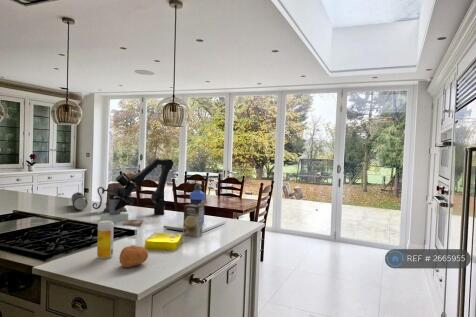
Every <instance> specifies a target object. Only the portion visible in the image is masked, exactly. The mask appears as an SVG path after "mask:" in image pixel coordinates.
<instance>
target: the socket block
mask: <svg viewBox="0 0 476 317" xmlns="http://www.w3.org/2000/svg"><path fill="white" fill-rule="evenodd" d="M99 220H100V221H103V220H111V221H113V223H116V222H122V221H126V220H129V213H127V212H120V214H118V215H109V213H102V214H100V219H99Z"/></svg>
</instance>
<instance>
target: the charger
mask: <svg viewBox="0 0 476 317" xmlns="http://www.w3.org/2000/svg"><path fill="white" fill-rule="evenodd" d="M118 203H119V200H109V215H118V214H120V209H118V210H117V211H115V208H116V206H117V205H118Z"/></svg>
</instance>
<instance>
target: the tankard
mask: <svg viewBox="0 0 476 317" xmlns="http://www.w3.org/2000/svg"><path fill="white" fill-rule="evenodd" d="M107 184H108V185H107V187H106V189H105V188H104V187H103V186H99V187H98V188H97V189H96V190H97V194H98V195H99V199H100V200H99V204H98V203H96V202H93V203H92V208H93V209H94V210H98V209H100V208H101V206H102V203H103V199H102V198H103V197H102V195H103V194H105V192H106V200H105V208H104V209H103V211H102V214H106V213H109V200H111V199H110V198H109V197H108V196H109V194H115V195H116V193H114V192H112V191H113V188H114V187H116V188H121V187H123V188H124V187H125V186H122V185H120V184H119V183H118V182H111V183H107ZM100 189H101V190H102V192H100ZM101 194H102V195H101ZM116 196H117V195H116ZM117 197H118V196H117ZM120 212H121V213H127V212H128V210H127V208H126V206H124V207H122V208H120Z"/></svg>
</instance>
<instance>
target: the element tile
mask: <svg viewBox="0 0 476 317" xmlns="http://www.w3.org/2000/svg"><path fill="white" fill-rule="evenodd" d="M182 244H183V233H182V234H181V233H166V232H164V233H163V232H154V233H152V234H150V236H149V237H148V236H147V238H146V239H145V240H144V248H145V249H146V250H147V251H148V250H151V251H172V252H174V251H175V252H176V251H177V250H178V249H179V248H180V246H181V245H182Z"/></svg>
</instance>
